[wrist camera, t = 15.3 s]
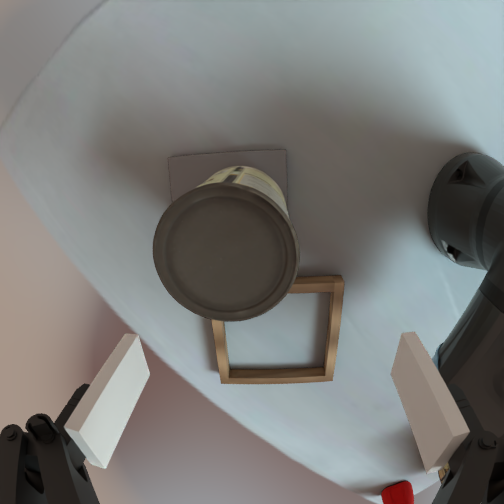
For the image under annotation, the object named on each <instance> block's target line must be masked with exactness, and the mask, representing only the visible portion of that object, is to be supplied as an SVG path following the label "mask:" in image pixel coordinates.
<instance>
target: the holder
mask: <svg viewBox="0 0 504 504" xmlns="http://www.w3.org/2000/svg"><path fill="white" fill-rule="evenodd" d="M315 292H331V295H330V308H329V319H328V330H327V340H326V350H325V358H324V367H315V368H295V369H230V366H229V359H228V351H227V342H226V334H225V325H224V321H217V320H212V319H211V320H212V327H213V334H214V341H215V348H216V354H217V361H218V367H219V374H220V380H221V384H288V383H310V382H325V381H333V374H334V368H335V361H336V354H337V347H338V339H339V331H340V322H341V314H342V304H343V294H344V280H343V278H342V276H341V275H335V276H308V277H296V278H295V281H294V283H293V285H292V287H291V289H290V290H289V292H288V293H315Z"/></svg>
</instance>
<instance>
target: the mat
mask: <svg viewBox="0 0 504 504" xmlns="http://www.w3.org/2000/svg"><path fill="white" fill-rule="evenodd" d="M168 165H169V176H170V186H171V196H172V203H173V202H174V201H175V200H176V199H177V198H179V197H180V196H182V195H183V194H185V193H187V192H188V191H190V190H192V189H195V188H196V187H198V186H199V185H201V184H202V183H204V182H205V181H206V180H208V179H209V178H210V177H211V176H212V175H214V174H215V173H217V172H218V171H220V170H222V169H225V168H228V167H232V166H248V167H252V168H256V169H258V170H260V171H263V172H264V173H266V174H267V175H268V176H270V177H271V178H272V179H273V180H274V181H275V182H276V183H277V184H278V186H279V188H280V189H281V191H282V193H283V195H284V198H285V202H286V208H287V211H288V199H287V164H286V150H257V151H237V152H221V153H208V154H196V155H186V156H176V157H169V158H168Z"/></svg>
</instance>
